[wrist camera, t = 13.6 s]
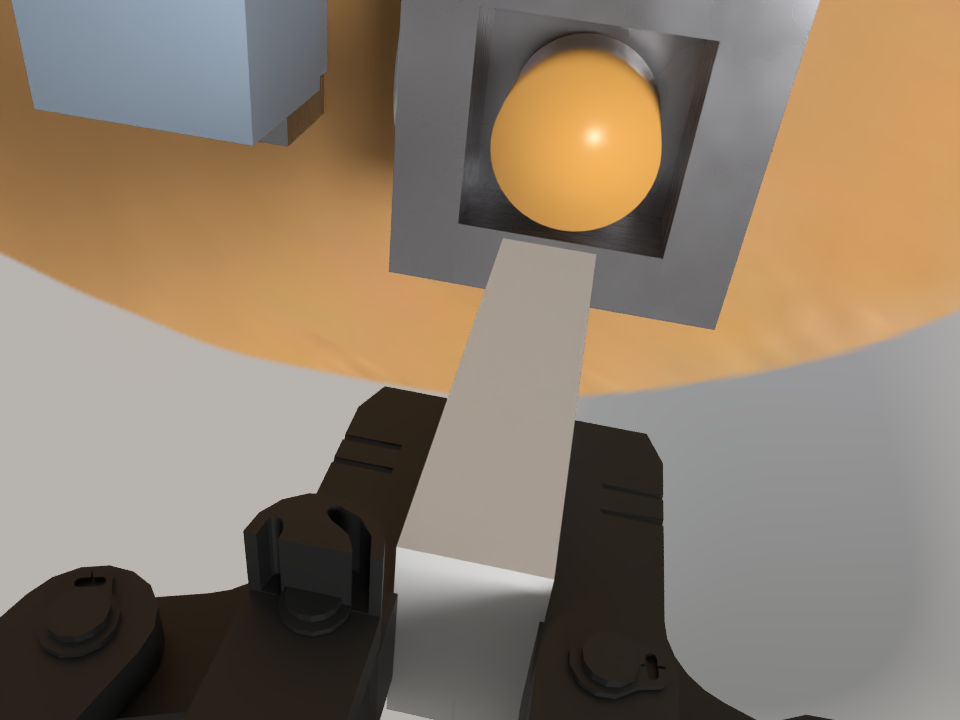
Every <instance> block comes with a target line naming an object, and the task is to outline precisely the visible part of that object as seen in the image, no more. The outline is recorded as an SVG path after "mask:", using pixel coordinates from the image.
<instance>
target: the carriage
mask: <svg viewBox="0 0 960 720" xmlns="http://www.w3.org/2000/svg"><path fill="white" fill-rule="evenodd" d="M11 1H12V6H13V10H14V15H15V20H16V25H17V29H18V34H19V39H20V44H21V48H22V53H23V58H24V62H25V67H26V72H27V77H28V81H29V86H30V91H31V96H32V100H33V105H34V109H37V110H43V111H49V112H55V113H60V114H66V115H72V116H78V117H84V118H90V119H96V120H102V121H108V122H114V123H120V124H126V125H132V126H138V127H144V128H150V129H156V130H162V131H168V132H174V133H180V134H186V135H192V136H198V137H203V138H209V139H215V140H221V141H227V142H233V143H239V144H245V145H251V146H253V145H255V144H256V143H257V142H258V141H259V140H261V139H262V138H263V137H264V136H265V135H267V134H268V133H269V132H270V131H271V130H273V129H274V128H275V127H276V126H277V125H279V124H280V123H281V122H282V121H283V120H284V119H286V118H287V117H288V116H289V115H290V114H292V113H293V112H294V111H295V110H296V109H298V108H299V107H300V106H301V105H302V104H304V103H305V102H306V101H307V100H308V99H310V98H311V97H312V96H313V95H314V94H315V93H317V92H318V91H319V90H320V76H322V75H323V74H324V73H325V72H327V0H11Z"/></svg>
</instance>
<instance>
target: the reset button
mask: <svg viewBox="0 0 960 720" xmlns="http://www.w3.org/2000/svg"><path fill="white" fill-rule="evenodd" d="M661 148H662V142H661V107H660V96H659V91H658V87H657V83H656V81H655V78H654V76H653V74H652V72H651V70H650V68H649V67H648V65H647V64H646V63H645V61H644V60H643V59H642V58H641V57H640V56H639V55H638V54H637V53H636V52H635V51H634V50H633V49H631V48H630V47H629V46H627V45H626V44H624V43H622V42H620V41H618V40H616V39H614V38H611V37H608V36H604V35H600V34H590V33H583V34H573V35H568V36H565V37H562V38H559V39H556V40H554V41H552V42H550V43H548V44H547V45H545V46H544V47H542V48H541V49H539V50H538V51H537V52H536V53H535V54H534V55H532V56H531V58H530V59H529V60H528V61H527V62H526V63H525V65H524V66H523V68H522V69H521V71H520V72H519V74H518V76H517V78H516V80H515V82H514V84H513V86H512V88H511V90H510V92H509V94H508V96H507V98H506V100H505V102H504V104H503V106H502V108H501V110H500V112H499V114H498V116H497V118H496V121H495V124H494V127H493V131H492V136H491V149H490V151H491V162H492V166H493V171H494V174H495V176H496V179H497V182H498V184H499V186H500V188H501V189H502V191H503V193H504V194H505V195H506V197H507V198H508V200H509V201H510V202H511V203H512V204H513V205H514V206H515V207H516V208H517V209H518V210H519V211H520V212H521V213H523V214H524V215H526V216H527V217H528V218H530V219H531V220H533V221H535V222H537V223H539V224H541V225H544V226H547V227H550V228H553V229H558V230H563V231H588V230H594V229H598V228H602V227H605V226H607V225H610V224H612V223H614V222H616V221H618V220H620V219H622V218H623V217H625V216H626V215H627V214H629V213H630V212H631V211H632V210H634V209H635V208H636V207H637V206H638V205H639V204H640V203H641V201H642V200H643V199H644V198H645V197H646V195H647V194H648V192H649V190H650V189H651V187H652V185H653V183H654V181H655V179H656V176H657V173H658V170H659V166H660V160H661Z"/></svg>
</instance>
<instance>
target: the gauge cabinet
mask: <svg viewBox="0 0 960 720" xmlns="http://www.w3.org/2000/svg"><path fill="white" fill-rule="evenodd" d="M819 2H820V0H401V16H400V33H399V40H398V47H397V55H396V65H395V77H394V126H395V150H394V173H393V195H392V217H391V240H390V262H389V272H393V273H399V274H405V275H410V276H416V277H421V278H427V279H433V280H438V281H444V282H449V283H455V284H461V285H466V286H472V287H477V288H483V289H486V286H487V283H488V280H489V277H490V274H491V271H492V268H493V266H494V263H495V260H496V257H497V254H498V251H499V248H500V245H501V242H502V239H503V238H505V239H511V240H517V241H523V242H528V243H534V244H540V245H546V246H551V247H557V248H563V249H569V250H574V251H580V252H586V253H592V254H596V261H595V269H594V276H593V284H592V292H591V300H590V307H589V308H595V309H600V310H606V311H612V312H617V313H623V314H628V315H634V316H639V317H645V318H651V319H656V320H662V321H667V322H673V323H679V324H684V325H690V326H695V327H701V328H707V329H712V330H715V327H716V324H717V321H718V318H719V314H720V311H721V308H722V305H723V302H724V299H725V296H726V293H727V289H728V286H729V283H730V280H731V277H732V274H733V271H734V267H735V264H736V261H737V258H738V255H739V252H740V249H741V246H742V242H743V239H744V236H745V233H746V230H747V227H748V224H749V221H750V217H751V214H752V211H753V208H754V205H755V202H756V199H757V196H758V192H759V189H760V186H761V183H762V180H763V177H764V174H765V171H766V167H767V164H768V161H769V158H770V155H771V152H772V149H773V146H774V142H775V139H776V136H777V133H778V130H779V127H780V124H781V121H782V117H783V114H784V111H785V108H786V105H787V102H788V99H789V96H790V92H791V89H792V86H793V83H794V80H795V77H796V74H797V71H798V67H799V64H800V61H801V58H802V55H803V52H804V49H805V46H806V42H807V39H808V36H809V33H810V30H811V27H812V24H813V20H814V17H815V14H816V11H817V8H818V5H819ZM583 33H590V34H600V35H604V36H608V37H611V38H614V39H616V40H618V41H620V42H622V43H624V44H626V45H627V46H629V47H630V48H631V49H633V50H634V51H635V52H636V53H637V54H638V55H639V56H640V57H641V58H642V59H643V60H644V61H645V63H646V64H647V65H648V67H649V68H650V70H651V72H652V74H653V76H654V78H655V81H656V83H657V87H658V91H659V96H660V107H661V142H662V148H661V160H660V166H659V170H658V173H657V176H656V179H655V181H654V183H653V185H652V187H651V189H650V190H649V192H648V194H647V195H646V197H645V198H644V199H643V200H642V201H641V203H640V204H639V205H638V206H637V207H636V208H635V209H634V210H632V211H631V212H630V213H629V214H627V215H626V216H625V217H623V218H622V219H620V220H618V221H616V222H614V223H612V224H610V225H607V226H605V227H602V228H598V229H594V230H588V231H563V230H558V229H553V228H550V227H547V226H544V225H541V224H539V223H537V222H535V221H533V220H531V219H530V218H528V217H527V216H526V215H524V214H523V213H521V212H520V211H519V210H518V209H517V208H516V207H515V206H514V205H513V204H512V203H511V202H510V201H509V200H508V198H507V197H506V195H505V194H504V193H503V191H502V189H501V188H500V186H499V184H498V182H497V179H496V176H495V174H494V171H493V166H492V162H491V151H490V149H491V136H492V131H493V127H494V124H495V121H496V118H497V116H498V114H499V112H500V110H501V108H502V106H503V104H504V102H505V100H506V98H507V96H508V94H509V92H510V90H511V88H512V86H513V84H514V82H515V80H516V78H517V76H518V74H519V72H520V71H521V69H522V68H523V66H524V65H525V63H526V62H527V61H528V60H529V59H530V58H531V56H532V55H534V54H535V53H536V52H537V51H538V50H539V49H541V48H542V47H544V46H545V45H547V44H548V43H550V42H552V41H554V40H556V39H559V38H562V37H565V36H568V35H573V34H583Z"/></svg>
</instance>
